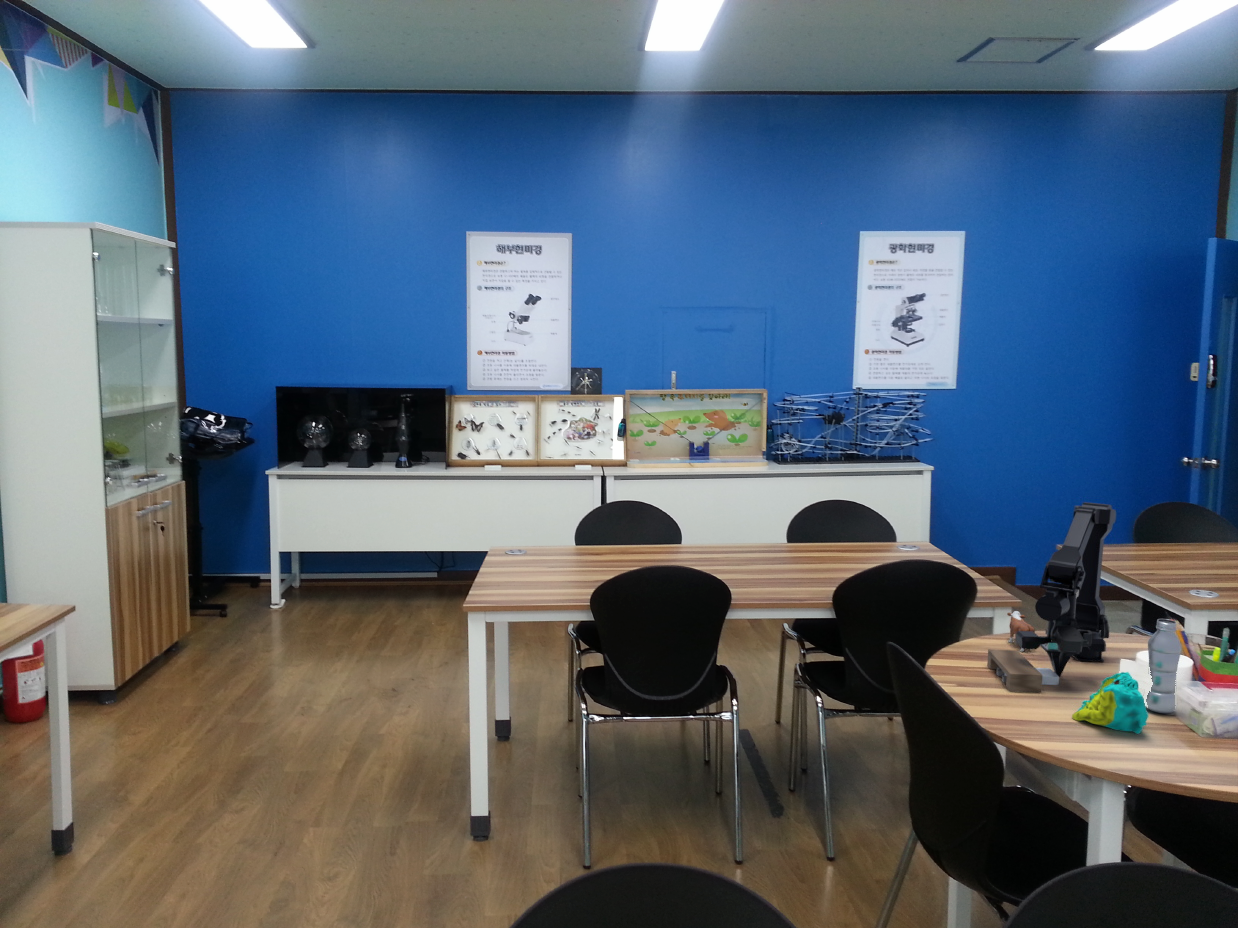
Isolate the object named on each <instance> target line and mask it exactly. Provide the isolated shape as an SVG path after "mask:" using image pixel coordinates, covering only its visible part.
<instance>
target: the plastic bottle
mask: <svg viewBox="0 0 1238 928" xmlns="http://www.w3.org/2000/svg"><path fill="white" fill-rule="evenodd" d="M1155 628H1156V631H1155V632H1154V633H1153V634H1152V635H1151V636H1150V637H1149V639H1148V642H1147V651H1148V668H1149V667H1150V671H1151V672H1150V673H1151V674H1150V675H1151V676H1152V678H1151V679H1152V682H1153V685H1152V687H1151V692H1150V691H1149V693H1148V695H1147V699H1146V702H1147V705H1148V708H1149V709H1150V710H1149V709H1148V708H1147V709H1148V710H1149V711H1152V712H1154V713H1159V714H1172V713H1173V711H1176V709H1175V706H1176V705H1175V695H1174V693H1175V686H1176V687H1177V675H1176V674H1177V673H1178V666H1179V662H1180V658H1181V653H1182V644H1181V641H1180V638H1179V637H1178V636H1177V634H1176V633H1175V632H1177V621H1175V620H1172V619H1167V618H1158V619H1157V620H1156V625H1155ZM1176 672H1177V673H1176ZM1175 680H1176V681H1175ZM1175 682H1176V683H1175ZM1175 684H1176V685H1175Z"/></svg>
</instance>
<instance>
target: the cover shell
mask: <svg viewBox="0 0 1238 928" xmlns="http://www.w3.org/2000/svg"><path fill="white" fill-rule="evenodd" d="M1035 668H1036V669H1037V670H1038V671H1039V672H1040V673H1041V674H1042V685H1047V686H1049V685H1050V686H1059V684H1060V677H1059V676H1058V675H1057V674H1056V673H1055V672H1054V670H1053V669H1052V668H1050V667H1035ZM1002 671H1003V670H1002ZM1003 676H1007V675H1006V674H1005V673H1004V671H1003Z"/></svg>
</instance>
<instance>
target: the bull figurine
mask: <svg viewBox="0 0 1238 928" xmlns="http://www.w3.org/2000/svg"><path fill="white" fill-rule="evenodd" d="M1007 616H1008V617H1011V618H1010V623H1009V630H1010V635H1009V639H1008V641H1007V643H1008V644H1012V643H1013V638H1014V636H1015V635H1016V633H1017V632H1018V631H1033V632H1034V633H1035V634H1036V630H1035V628H1034V627H1033V626H1032V625H1031V624H1030V623H1027V622H1026V621H1025V620H1024V619H1025V618H1026V616H1025V615H1024V614H1021V612H1020V611H1018V610H1015V611H1013V612H1012V613H1011V612H1007ZM1027 650H1028V651H1029V650H1030V651H1031V649H1027ZM1024 651H1025V649H1023V648H1021V647H1020V649H1019V652H1020V653H1021V652H1022V653H1024Z"/></svg>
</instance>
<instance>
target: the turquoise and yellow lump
mask: <svg viewBox="0 0 1238 928" xmlns="http://www.w3.org/2000/svg"><path fill="white" fill-rule="evenodd" d="M1143 696H1144V695H1142V693H1141V691H1139V682H1138V680H1136V679H1134V678H1133V677H1132V675H1131V674H1130V672H1129V671H1126V672H1124V671H1121V672H1120V673H1119V672H1117V673H1115V674H1113V675H1110V676H1107V677H1106V678H1104V679H1103V680H1102V681H1101V684H1100V688H1098V690H1097V691H1096V692H1093V693H1092V694H1091V695H1089V700H1083V701H1082V702H1081V703H1082V705H1081V706H1080V707H1079V709H1078V710H1076V712H1075V711H1074V713H1073V714H1072V717H1071V718H1072V719H1073V720H1075V721H1079V722H1080V721H1081V722H1082V721H1086V722H1088V723H1090V724H1094V725H1097V726H1102V727H1106V728H1109V729H1113V730H1116V731H1122V732H1134V733H1135V734H1138V735H1139V734H1141V733H1142V731H1143V729H1144V728H1143V727H1144V726H1147V720H1148V719H1149V713H1148V711H1147V708H1146V706H1145V703H1144V698H1143Z"/></svg>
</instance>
